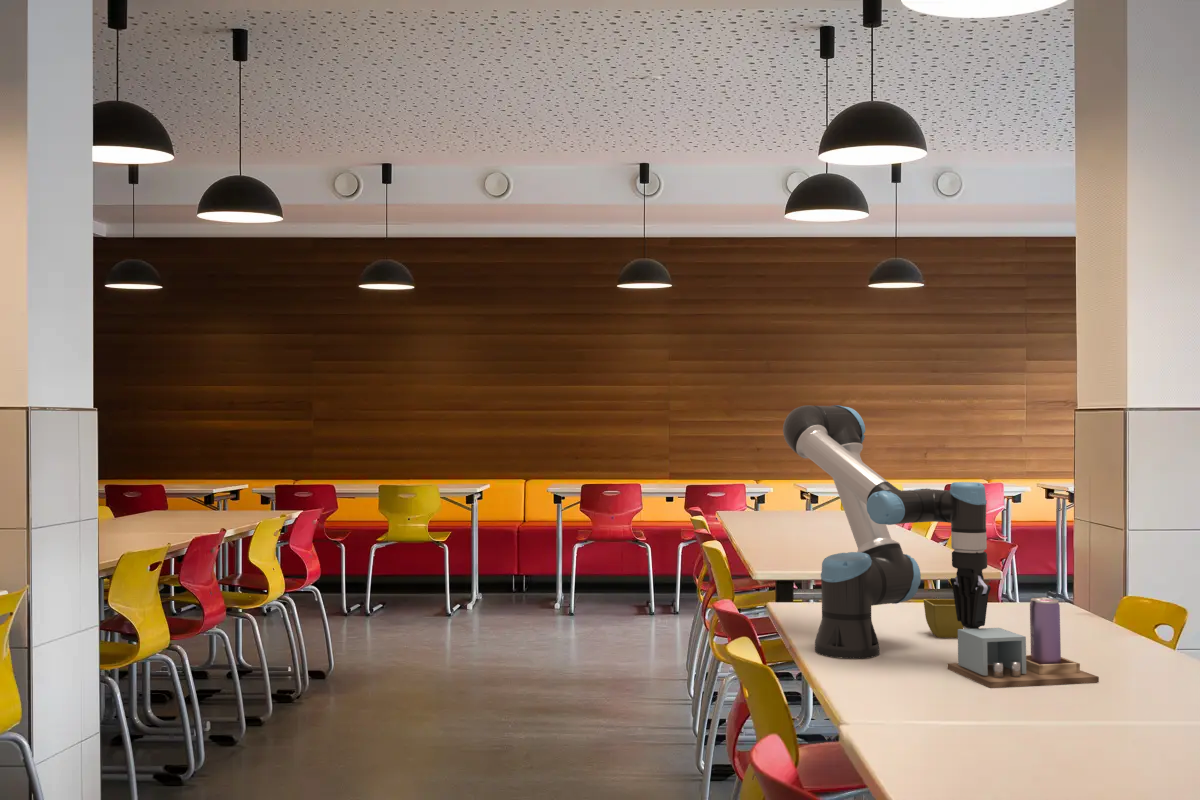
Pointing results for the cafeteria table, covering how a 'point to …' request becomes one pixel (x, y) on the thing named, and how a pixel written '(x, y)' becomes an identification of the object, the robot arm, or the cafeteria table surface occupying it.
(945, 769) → the cafeteria table surface
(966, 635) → the housing
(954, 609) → the flower pot
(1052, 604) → the beverage can
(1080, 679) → the base board
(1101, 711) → the cafeteria table surface
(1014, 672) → the stubs
